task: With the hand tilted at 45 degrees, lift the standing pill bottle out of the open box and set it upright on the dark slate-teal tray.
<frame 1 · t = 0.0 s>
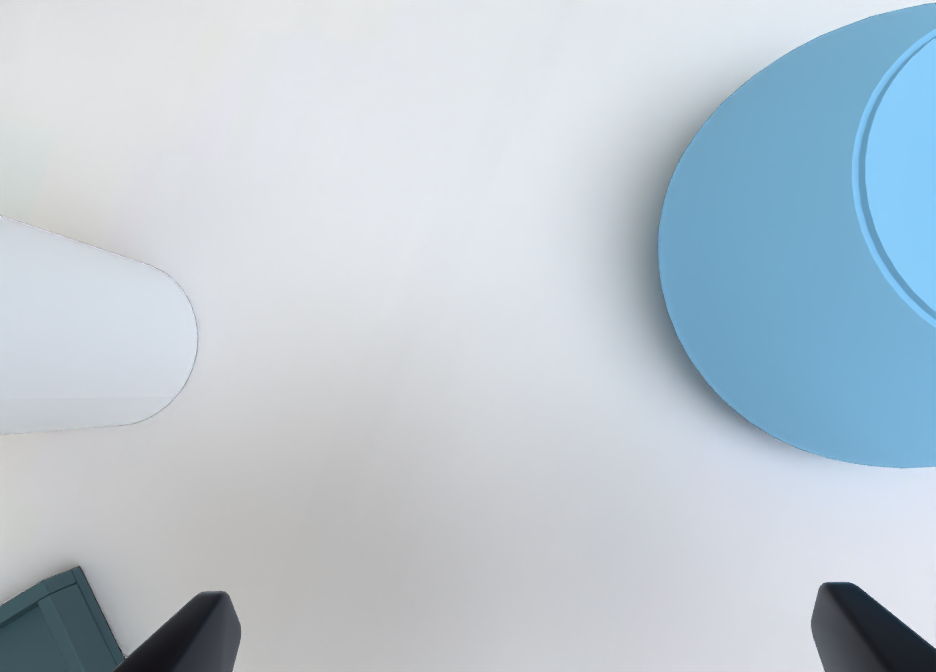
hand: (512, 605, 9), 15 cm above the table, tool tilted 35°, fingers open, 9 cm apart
cylindrical container: (122, 342, 26), on the table
sugar bowl: (841, 264, 24), on the table
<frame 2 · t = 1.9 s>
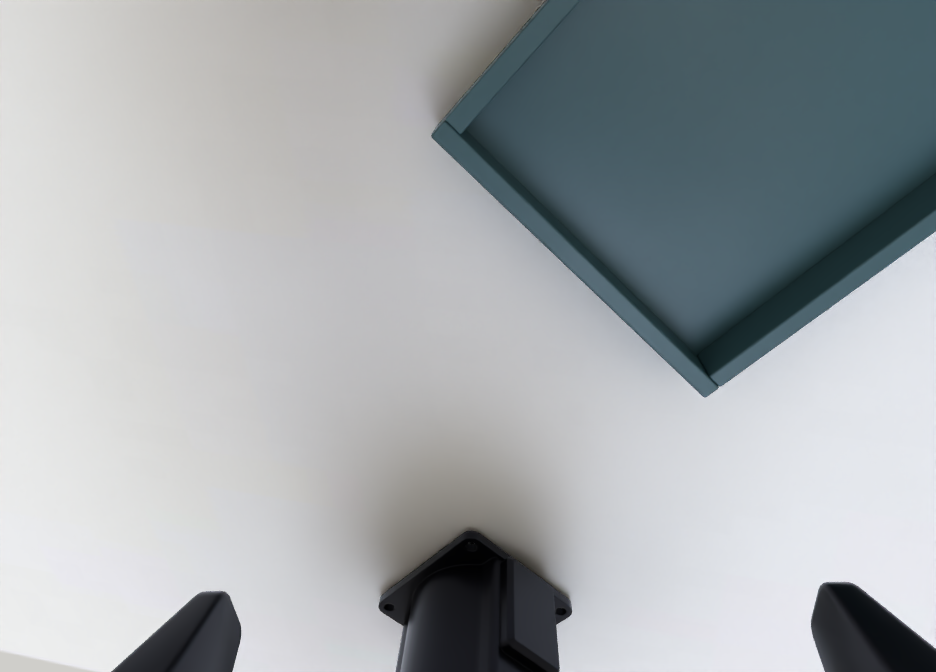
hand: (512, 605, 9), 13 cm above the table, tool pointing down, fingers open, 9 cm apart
tray: (833, 19, 17), on the table
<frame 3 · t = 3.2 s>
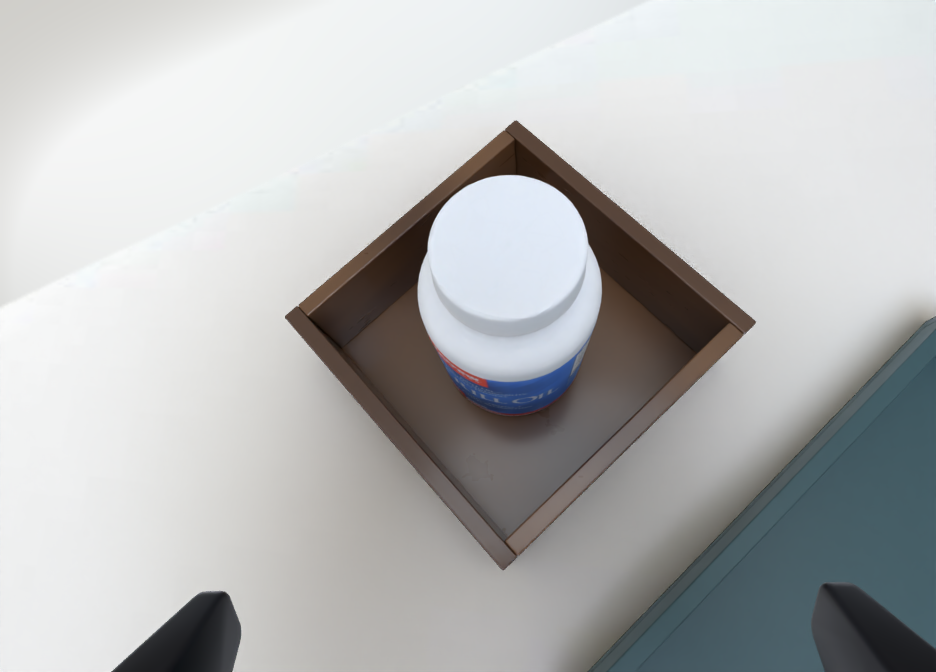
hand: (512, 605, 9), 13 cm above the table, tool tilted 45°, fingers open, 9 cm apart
tray: (904, 638, 20), on the table
open box: (514, 353, 24), on the table
pill bottle: (514, 353, 24), resting on open box
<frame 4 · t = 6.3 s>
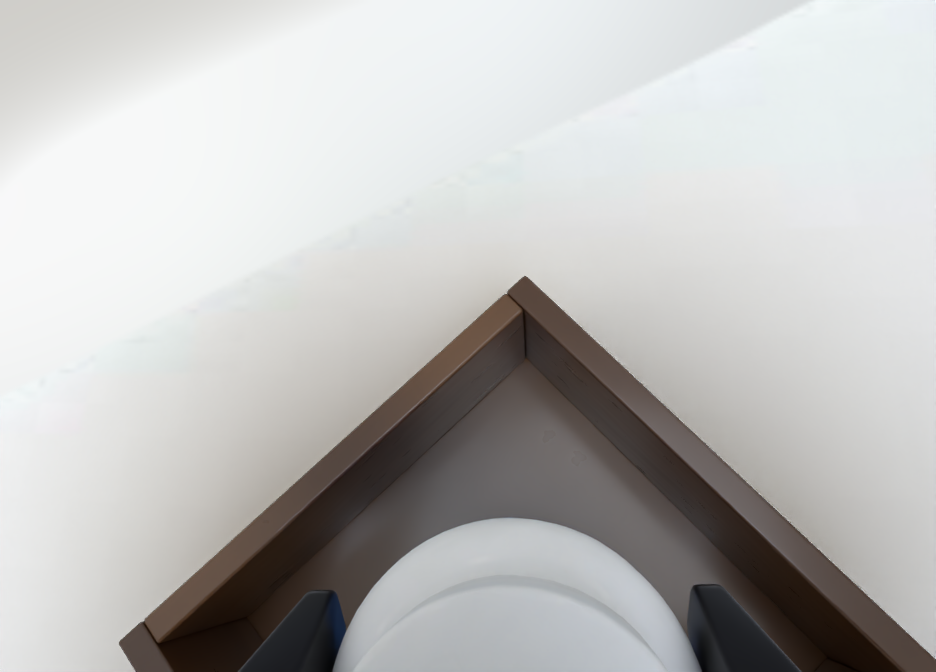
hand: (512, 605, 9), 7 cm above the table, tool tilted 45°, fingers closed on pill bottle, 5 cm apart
open box: (522, 634, 15), on the table
pill bottle: (521, 634, 15), resting on open box, touching gripper
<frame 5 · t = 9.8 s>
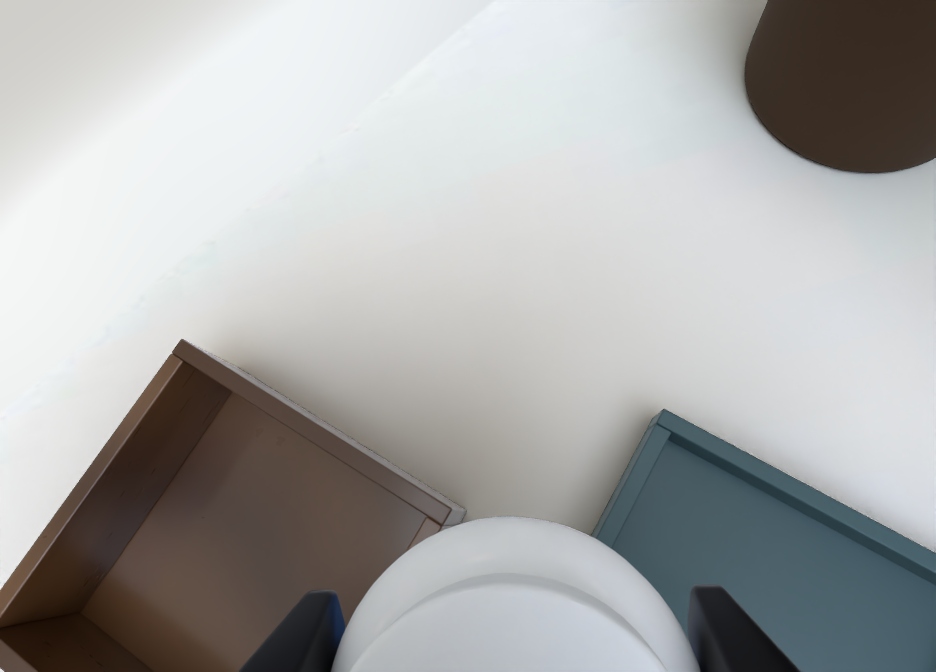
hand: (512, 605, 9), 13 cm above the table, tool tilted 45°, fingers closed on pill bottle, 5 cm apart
olive oil: (857, 82, 26), on the table
open box: (263, 564, 23), on the table
pill bottle: (520, 633, 15), point 7 cm above the table, touching gripper
when the fingers open (7 cm above the table, at t = 13.3 s): pill bottle stays where it is, resting on tray.
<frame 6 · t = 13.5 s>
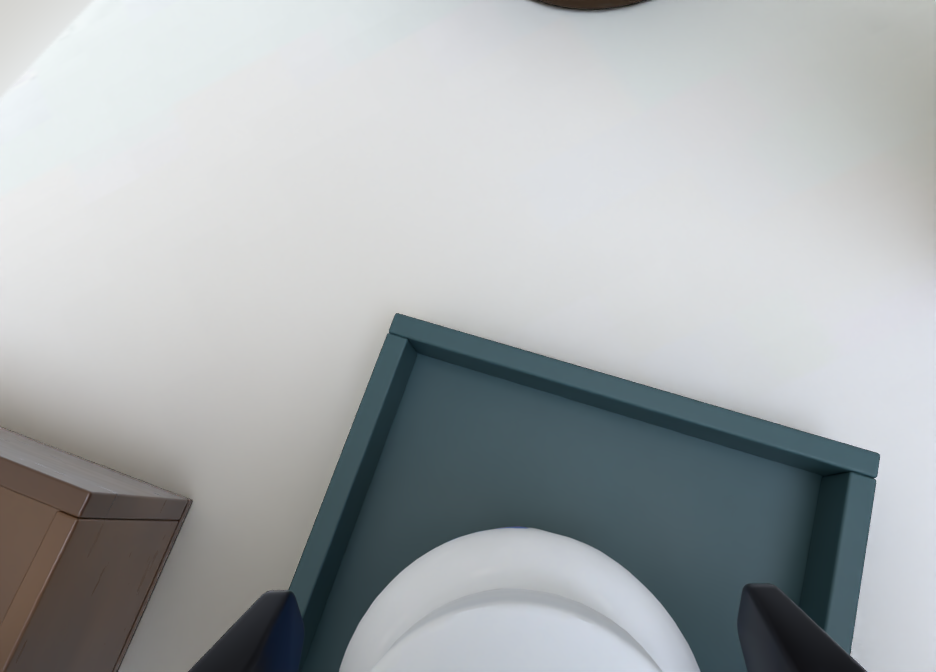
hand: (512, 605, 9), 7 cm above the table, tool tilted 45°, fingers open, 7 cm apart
pill bottle: (522, 640, 15), resting on tray
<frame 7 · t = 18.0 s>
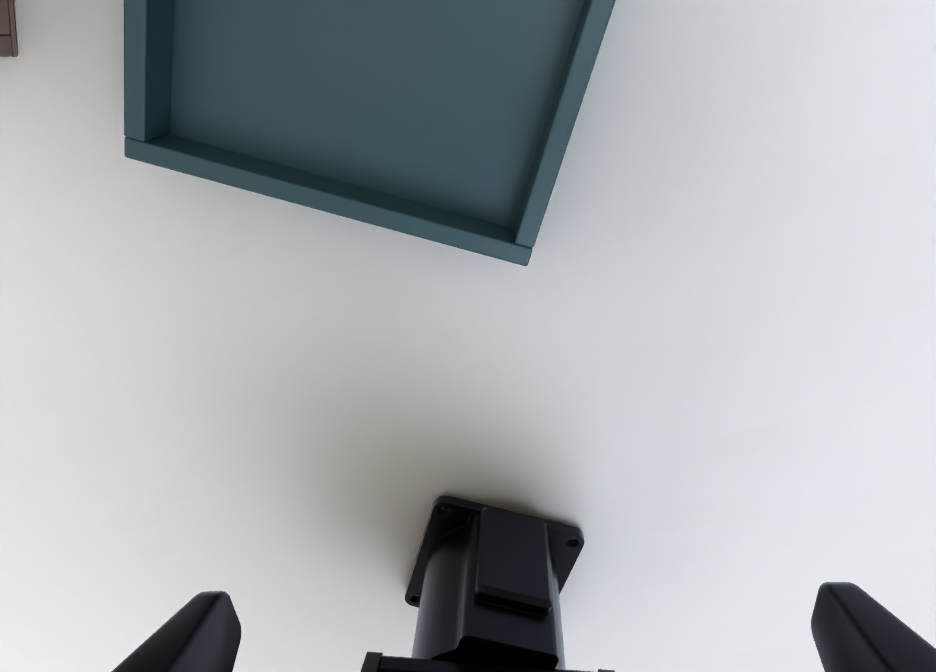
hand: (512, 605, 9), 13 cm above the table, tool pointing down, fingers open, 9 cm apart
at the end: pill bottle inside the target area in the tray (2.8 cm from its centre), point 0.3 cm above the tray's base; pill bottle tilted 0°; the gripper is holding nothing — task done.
